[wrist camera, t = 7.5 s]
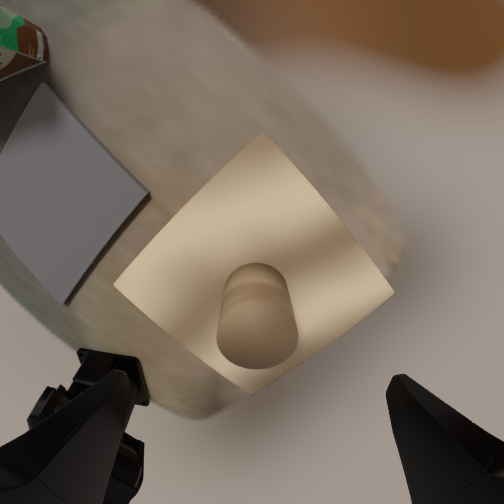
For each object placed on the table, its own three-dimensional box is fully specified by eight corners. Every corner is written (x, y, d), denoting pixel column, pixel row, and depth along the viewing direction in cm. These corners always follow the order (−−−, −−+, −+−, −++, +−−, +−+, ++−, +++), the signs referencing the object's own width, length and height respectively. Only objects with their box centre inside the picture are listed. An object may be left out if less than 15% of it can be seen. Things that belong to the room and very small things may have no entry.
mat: (149, 192, 18) (146, 193, 18) (65, 302, 22) (61, 305, 21) (46, 83, 15) (41, 82, 15) (-16, 203, 18) (-21, 205, 18)
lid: (388, 284, 16) (427, 332, 11) (250, 384, 19) (250, 444, 14) (262, 132, 13) (268, 125, 8) (119, 276, 16) (79, 324, 11)
